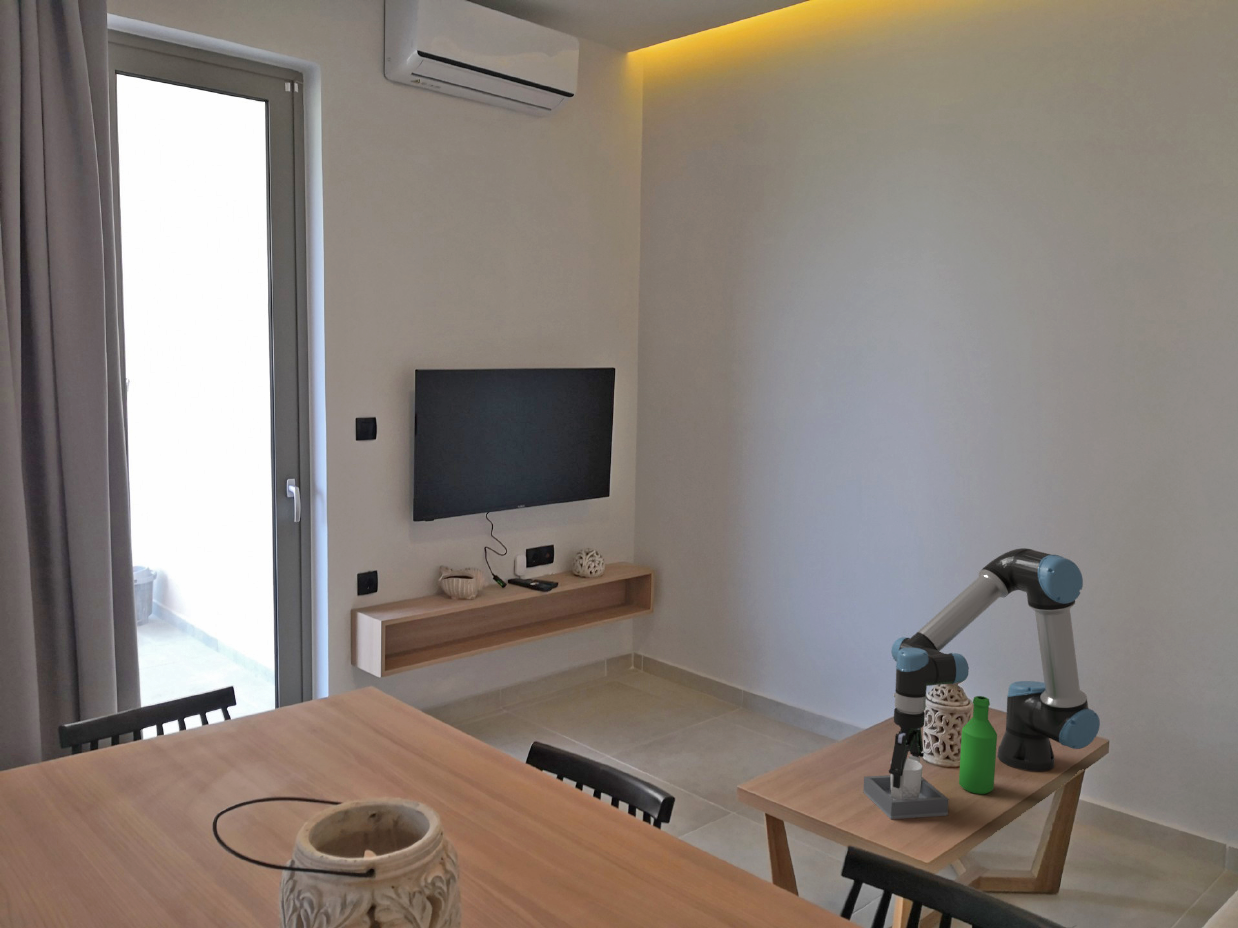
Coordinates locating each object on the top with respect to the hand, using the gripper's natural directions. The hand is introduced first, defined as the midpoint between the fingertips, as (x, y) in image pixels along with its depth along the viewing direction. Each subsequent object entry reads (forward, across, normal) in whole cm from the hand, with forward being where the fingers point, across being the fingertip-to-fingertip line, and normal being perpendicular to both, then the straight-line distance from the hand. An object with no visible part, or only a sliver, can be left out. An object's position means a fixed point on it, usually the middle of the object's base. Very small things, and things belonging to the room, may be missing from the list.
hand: (905, 789), depth 243 cm
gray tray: (+4, 0, 0) cm, 4 cm away
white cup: (+3, +1, 0) cm, 3 cm away
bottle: (+4, -21, +13) cm, 25 cm away
